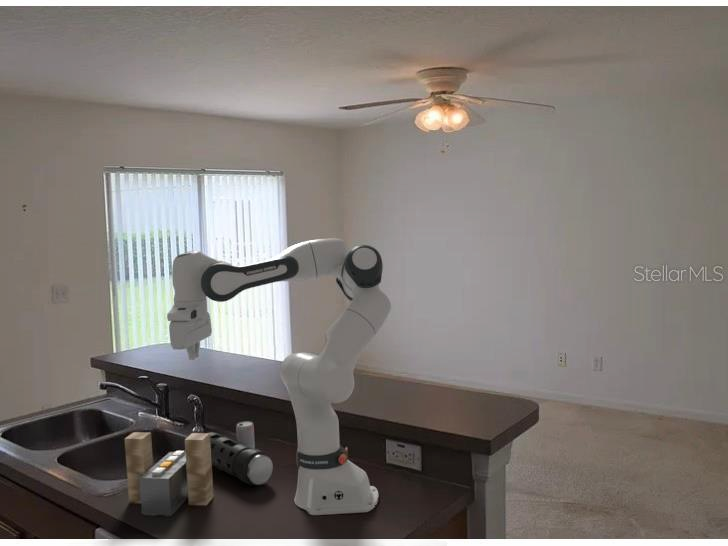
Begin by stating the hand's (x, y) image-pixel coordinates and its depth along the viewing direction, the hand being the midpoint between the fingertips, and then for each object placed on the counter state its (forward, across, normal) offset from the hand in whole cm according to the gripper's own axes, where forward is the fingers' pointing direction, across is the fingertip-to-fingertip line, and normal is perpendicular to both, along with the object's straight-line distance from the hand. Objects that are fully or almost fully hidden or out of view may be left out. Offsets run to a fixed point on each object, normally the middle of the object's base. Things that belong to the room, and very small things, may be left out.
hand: (193, 358), depth 180 cm
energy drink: (+37, -19, +7) cm, 42 cm away
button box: (+37, +9, -5) cm, 38 cm away
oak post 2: (+37, +9, +4) cm, 38 cm away
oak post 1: (+37, +9, -13) cm, 41 cm away
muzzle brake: (+38, -8, +7) cm, 39 cm away
